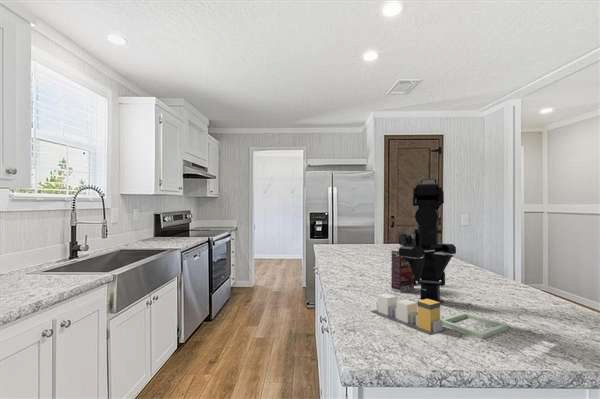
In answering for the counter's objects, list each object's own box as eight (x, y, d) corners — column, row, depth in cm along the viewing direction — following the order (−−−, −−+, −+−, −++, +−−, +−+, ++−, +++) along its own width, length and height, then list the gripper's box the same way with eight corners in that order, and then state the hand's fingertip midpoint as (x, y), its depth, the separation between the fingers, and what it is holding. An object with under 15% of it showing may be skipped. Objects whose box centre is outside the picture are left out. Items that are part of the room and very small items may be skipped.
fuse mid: (406, 316, 98) (405, 299, 98) (417, 320, 95) (416, 302, 95) (396, 318, 96) (396, 301, 96) (407, 322, 93) (407, 305, 93)
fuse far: (387, 309, 105) (387, 293, 105) (396, 312, 101) (396, 296, 101) (378, 311, 103) (377, 295, 103) (387, 315, 99) (387, 298, 99)
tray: (464, 320, 99) (464, 311, 99) (508, 334, 88) (508, 324, 88) (438, 328, 92) (438, 319, 92) (482, 344, 82) (482, 334, 82)
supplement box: (400, 292, 129) (400, 252, 129) (390, 290, 133) (390, 250, 133) (414, 289, 134) (414, 250, 134) (405, 287, 138) (404, 248, 138)
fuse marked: (427, 323, 92) (427, 298, 92) (440, 328, 88) (440, 302, 88) (417, 326, 90) (417, 300, 90) (430, 331, 86) (430, 304, 86)
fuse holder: (388, 311, 107) (388, 299, 107) (449, 334, 88) (449, 319, 88) (369, 316, 103) (369, 303, 103) (430, 341, 84) (430, 325, 84)
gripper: (425, 224, 109) (425, 272, 108) (384, 225, 99) (384, 278, 98) (456, 225, 99) (457, 278, 99) (414, 227, 90) (415, 285, 89)
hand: (428, 279), depth 96 cm, fingers open, 9 cm apart
